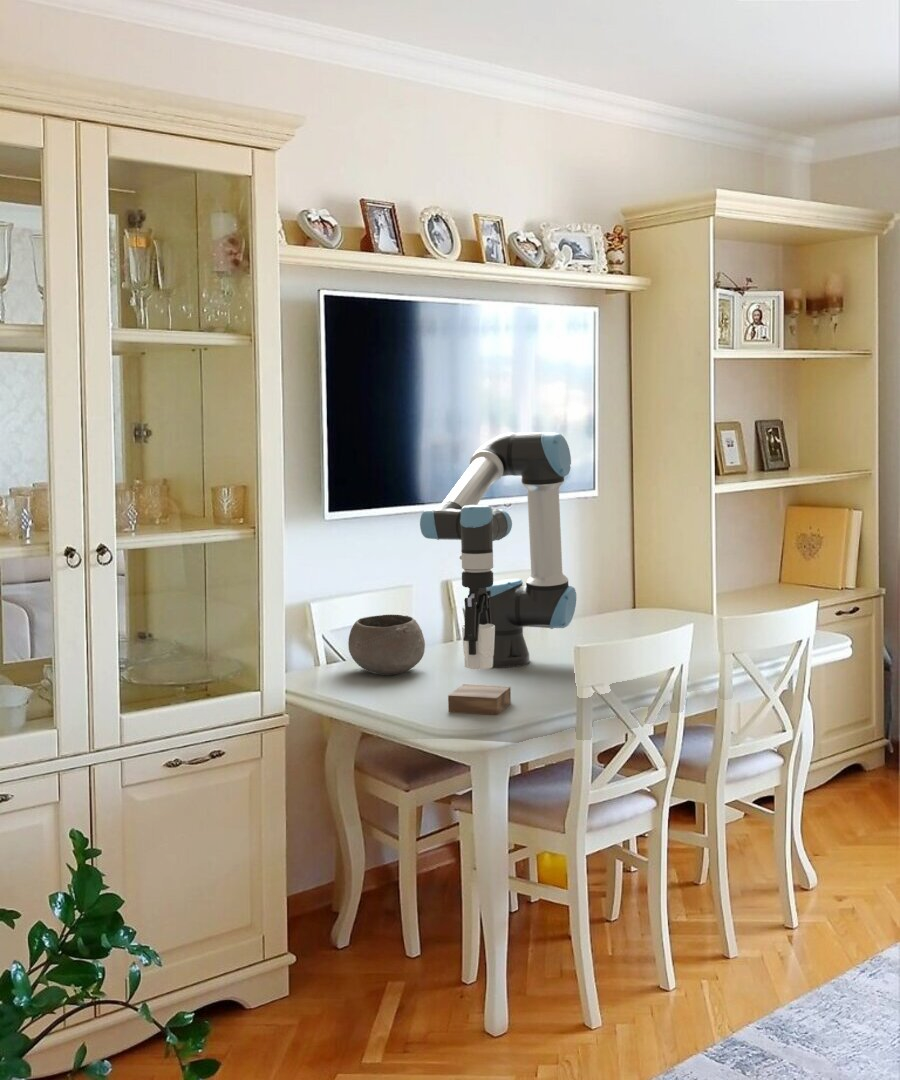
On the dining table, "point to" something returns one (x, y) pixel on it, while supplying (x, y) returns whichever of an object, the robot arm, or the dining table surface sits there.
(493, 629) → the white cup
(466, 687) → the walnut plinth
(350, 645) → the clay pot
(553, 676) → the dining table surface
